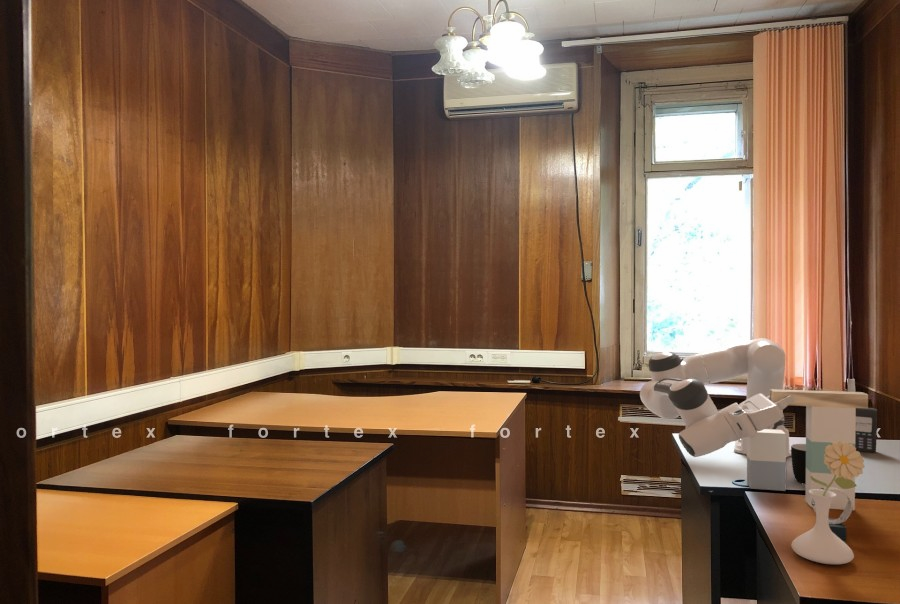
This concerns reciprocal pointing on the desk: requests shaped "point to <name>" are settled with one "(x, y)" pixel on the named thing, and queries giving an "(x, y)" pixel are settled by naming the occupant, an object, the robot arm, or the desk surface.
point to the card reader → (866, 429)
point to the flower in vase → (820, 538)
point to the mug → (799, 462)
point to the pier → (767, 460)
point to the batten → (822, 398)
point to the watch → (837, 524)
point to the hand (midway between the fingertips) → (789, 395)
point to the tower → (820, 433)
